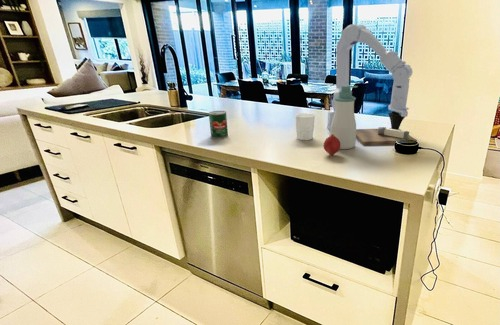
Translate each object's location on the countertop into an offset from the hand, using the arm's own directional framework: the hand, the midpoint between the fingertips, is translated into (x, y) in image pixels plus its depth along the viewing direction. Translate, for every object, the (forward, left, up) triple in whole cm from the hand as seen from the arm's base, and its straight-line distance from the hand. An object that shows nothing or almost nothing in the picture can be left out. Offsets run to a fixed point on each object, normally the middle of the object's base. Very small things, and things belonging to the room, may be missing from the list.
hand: (394, 130), depth 124 cm
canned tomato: (-75, +8, -3) cm, 75 cm away
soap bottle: (-24, -11, -3) cm, 27 cm away
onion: (-30, -21, -3) cm, 37 cm away
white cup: (-37, +1, -3) cm, 37 cm away
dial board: (-6, -2, -2) cm, 7 cm away
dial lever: (-3, -5, -1) cm, 6 cm away
